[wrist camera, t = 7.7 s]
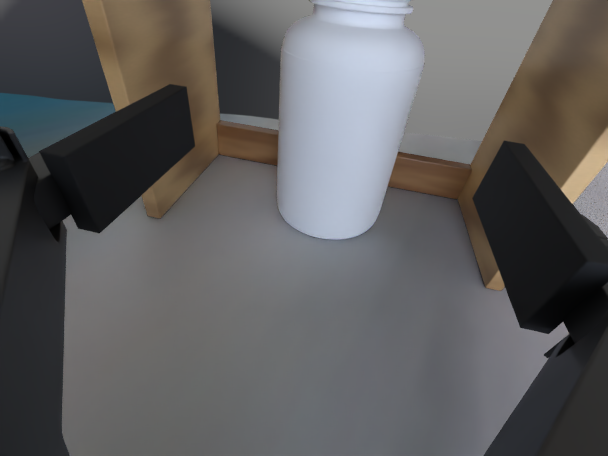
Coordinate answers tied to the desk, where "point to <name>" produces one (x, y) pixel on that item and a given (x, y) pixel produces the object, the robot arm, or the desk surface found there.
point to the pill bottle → (343, 112)
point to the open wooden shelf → (407, 168)
